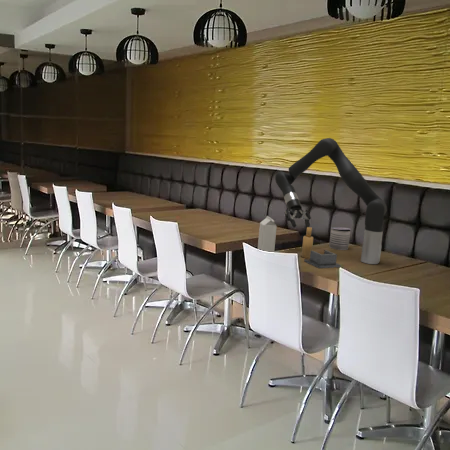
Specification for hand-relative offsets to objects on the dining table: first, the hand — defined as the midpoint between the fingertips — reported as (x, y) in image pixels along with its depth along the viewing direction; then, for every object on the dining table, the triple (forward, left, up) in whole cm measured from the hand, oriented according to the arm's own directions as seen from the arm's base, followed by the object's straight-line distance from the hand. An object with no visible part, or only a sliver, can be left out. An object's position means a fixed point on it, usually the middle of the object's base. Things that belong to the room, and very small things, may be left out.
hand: (301, 226), depth 283 cm
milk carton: (+15, -11, -15) cm, 24 cm away
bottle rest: (+6, +21, -15) cm, 26 cm away
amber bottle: (+2, +7, -15) cm, 17 cm away
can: (-35, -1, -15) cm, 39 cm away
